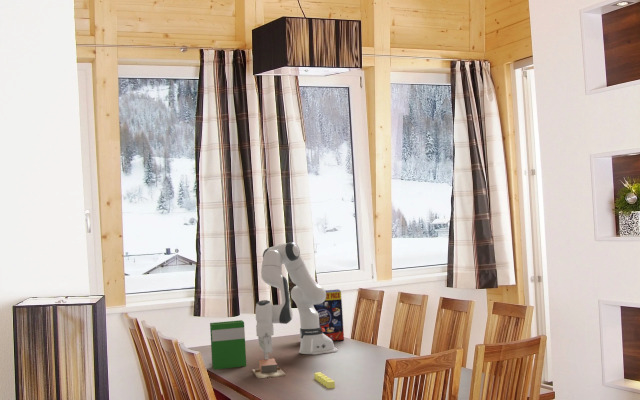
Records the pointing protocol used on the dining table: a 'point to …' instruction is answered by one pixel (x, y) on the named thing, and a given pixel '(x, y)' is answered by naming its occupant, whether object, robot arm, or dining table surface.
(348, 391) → the dining table surface
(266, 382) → the dining table surface
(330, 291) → the cereal box
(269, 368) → the block
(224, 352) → the hardback book
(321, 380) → the yellow segmented bar
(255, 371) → the board
